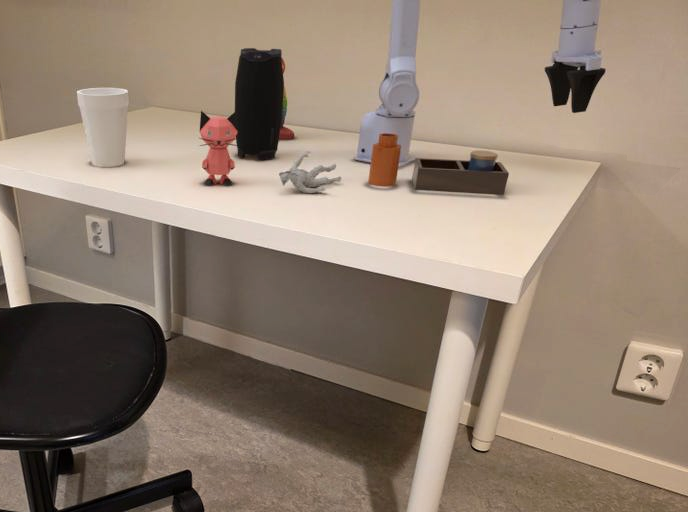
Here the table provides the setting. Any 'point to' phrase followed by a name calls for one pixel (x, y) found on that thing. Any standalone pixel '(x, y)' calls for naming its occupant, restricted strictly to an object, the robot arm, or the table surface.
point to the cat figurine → (218, 146)
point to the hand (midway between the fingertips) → (569, 108)
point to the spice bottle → (385, 160)
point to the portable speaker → (259, 102)
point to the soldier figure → (307, 177)
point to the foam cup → (105, 124)
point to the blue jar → (482, 160)
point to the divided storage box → (458, 177)
